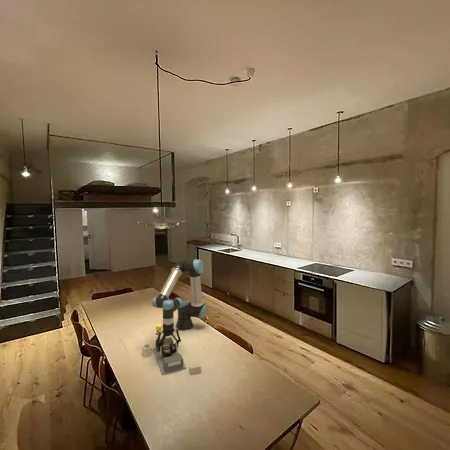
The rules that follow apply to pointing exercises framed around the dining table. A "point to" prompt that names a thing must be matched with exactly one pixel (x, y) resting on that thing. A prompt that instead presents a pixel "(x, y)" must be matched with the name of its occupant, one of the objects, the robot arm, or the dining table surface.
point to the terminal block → (194, 369)
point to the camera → (168, 349)
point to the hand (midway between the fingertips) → (168, 353)
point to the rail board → (160, 361)
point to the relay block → (147, 350)
